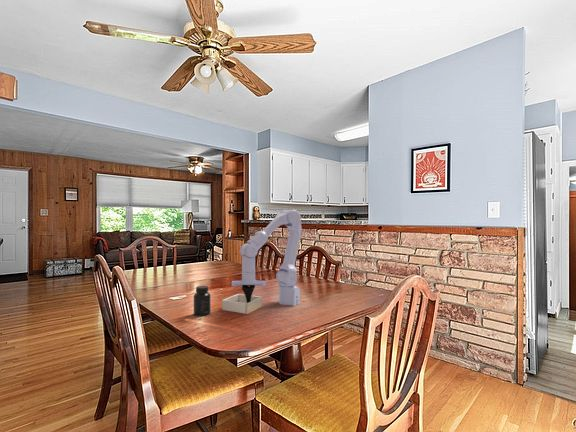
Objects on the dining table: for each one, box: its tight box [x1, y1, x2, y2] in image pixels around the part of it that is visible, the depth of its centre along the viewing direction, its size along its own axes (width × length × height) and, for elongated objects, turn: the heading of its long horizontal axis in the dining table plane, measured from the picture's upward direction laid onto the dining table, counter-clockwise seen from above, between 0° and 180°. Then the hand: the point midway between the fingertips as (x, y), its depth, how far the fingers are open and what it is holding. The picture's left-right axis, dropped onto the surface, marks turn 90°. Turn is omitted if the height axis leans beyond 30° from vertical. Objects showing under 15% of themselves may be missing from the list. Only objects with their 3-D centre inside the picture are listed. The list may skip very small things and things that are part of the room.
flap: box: [246, 296, 263, 315], centre depth 134 cm, size 1×12×4 cm, turn 153°
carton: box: [221, 293, 261, 315], centre depth 137 cm, size 12×12×5 cm
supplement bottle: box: [193, 285, 212, 317], centre depth 129 cm, size 7×7×12 cm
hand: (248, 302), depth 136 cm, fingers closed
